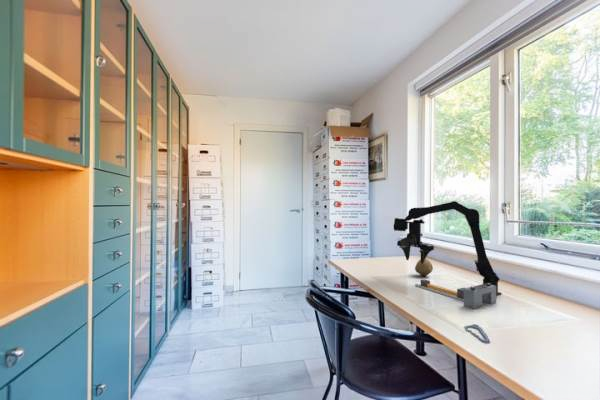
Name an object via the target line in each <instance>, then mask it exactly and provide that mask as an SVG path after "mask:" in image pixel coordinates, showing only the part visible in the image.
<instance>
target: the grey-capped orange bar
mask: <svg viewBox="0 0 600 400" xmlns="http://www.w3.org/2000/svg"><path fill="white" fill-rule="evenodd" d="M431 284H432V283H431V281H430V280H429V279H420V285H421V286H425V287H428V288H431V289H434V290H438V291H441V292H444V293H447V294H450V295H454V296H457V297H460V298H463V299H464V288H465V287H460V288H457V289H456V292H455V290H453V291H451V290H452V289H450V290H448V289H449V288H446V289H445V287H443V288H441V287H442V286H439V285H436V286H435V284H433V285H431ZM438 286H439V287H438Z"/></svg>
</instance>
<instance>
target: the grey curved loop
mask: <svg viewBox="0 0 600 400" xmlns="http://www.w3.org/2000/svg"><path fill="white" fill-rule="evenodd" d="M470 328H471V329H475V330H478V331H479V332H480V334H481V335H482V337H483V338H481V336H479V335H478V334H476V333H475V332H473V330H471V329H470ZM464 329H465V330H466V332H469V333H470V334H471V335H472V336H474V337H475V338H477V339H478V340H479V341H480V342H481V343H485V344H488V343H489V344H490V342H491V341H490V338H489V337H488V336H489V335H487V333H485V330H483V327H481V326H480V325H478V324H470V325H465V326H464Z"/></svg>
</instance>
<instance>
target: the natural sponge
mask: <svg viewBox="0 0 600 400" xmlns="http://www.w3.org/2000/svg"><path fill="white" fill-rule="evenodd" d="M433 270H434V267H433V263H432V262H431V261H430V260H428V259H427V258H425V260H424V262H423V263H421V259H419V260H418V261H417V263H416V265H415V267H414V271H415V272H416V273H417V274H419V275H420V276H422V277H427V276H428V275H429V274H431V273H432V272H433Z"/></svg>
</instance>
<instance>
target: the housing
mask: <svg viewBox="0 0 600 400" xmlns="http://www.w3.org/2000/svg"><path fill="white" fill-rule="evenodd" d="M430 284H431V285H435V284H432V283H430ZM414 286H415V287H418V288H420V289H424V290H426V291H430V292H433V293H437V294H440V295H443V296H446V297H448V298H452V299H455V300H458V301H462V302H463V307H466V308H469V309H472V310H476V309H480V308H483V302H484V303H487V304H489V305H492V304H497V295H496V286H494V285H491V283H486V284H483V283H482V284H478V285H474V286H471V285H470V287H469V286H468V287H463V288H464V299H463V298H460V297H457V296H454V295H450V294H447V293H444V292H441V291H438V290H434V289H431V288H428V287H425V286H421V284H418V283H415V284H414ZM435 286H438V287H441V288H445V287H443V286H439V285H435ZM445 289H448V290H451V291H455V290H453V289H449V288H445ZM455 292H457V290H456V291H455Z"/></svg>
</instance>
